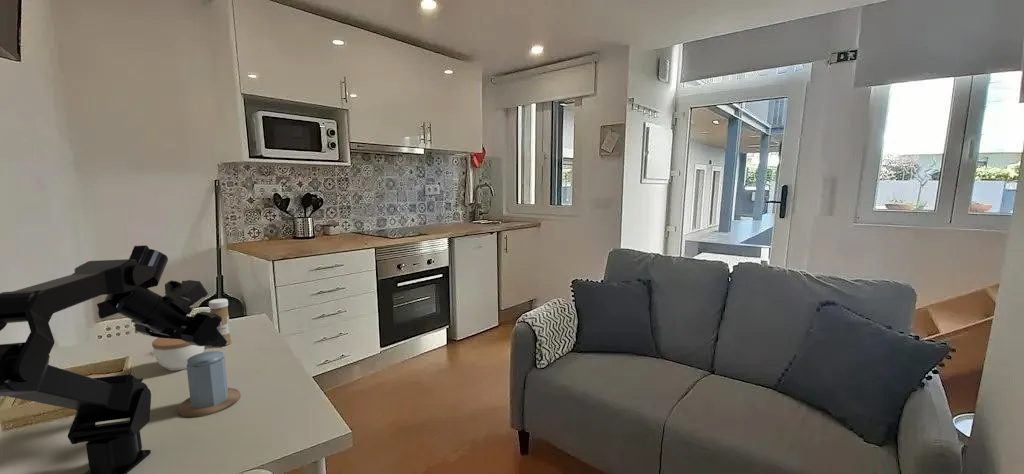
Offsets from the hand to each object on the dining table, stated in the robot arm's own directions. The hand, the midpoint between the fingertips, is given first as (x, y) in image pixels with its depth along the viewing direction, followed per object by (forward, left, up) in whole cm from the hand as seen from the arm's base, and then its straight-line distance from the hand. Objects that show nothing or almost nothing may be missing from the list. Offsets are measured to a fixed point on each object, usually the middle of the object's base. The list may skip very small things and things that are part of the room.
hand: (210, 341), depth 91 cm
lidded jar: (+19, +20, -14) cm, 30 cm away
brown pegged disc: (-1, +1, -14) cm, 14 cm away
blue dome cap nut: (-1, 0, -13) cm, 13 cm away
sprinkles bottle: (+33, +18, -14) cm, 40 cm away
